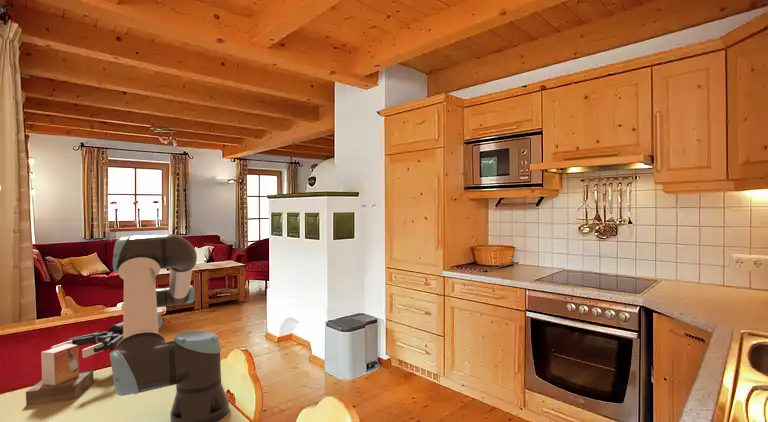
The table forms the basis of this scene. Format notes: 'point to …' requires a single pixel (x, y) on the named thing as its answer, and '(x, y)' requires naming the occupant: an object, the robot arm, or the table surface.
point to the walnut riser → (60, 389)
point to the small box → (60, 364)
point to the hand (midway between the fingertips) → (67, 352)
